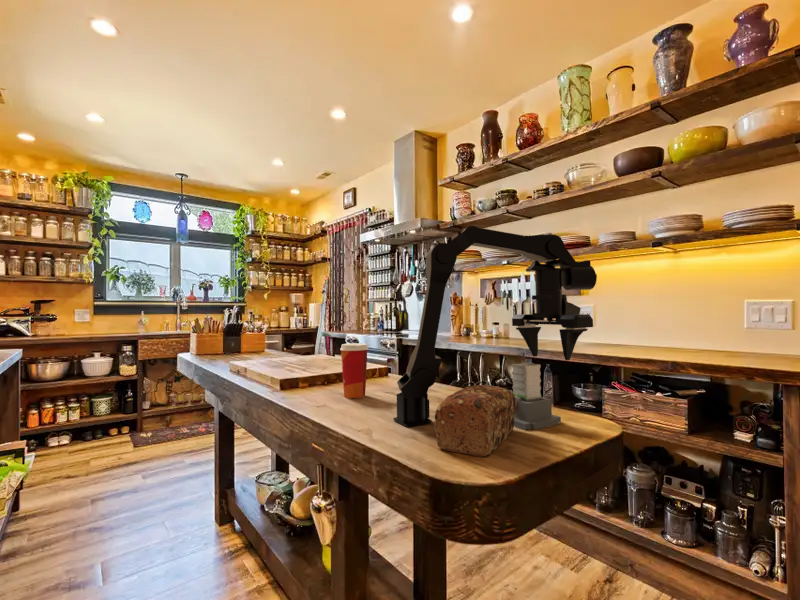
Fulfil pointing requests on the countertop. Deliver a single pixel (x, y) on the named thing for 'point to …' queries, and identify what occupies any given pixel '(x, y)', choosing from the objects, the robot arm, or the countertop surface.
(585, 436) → the countertop surface
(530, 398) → the column
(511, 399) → the bread
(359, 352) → the coffee cup
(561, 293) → the robot arm
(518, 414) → the stand base
